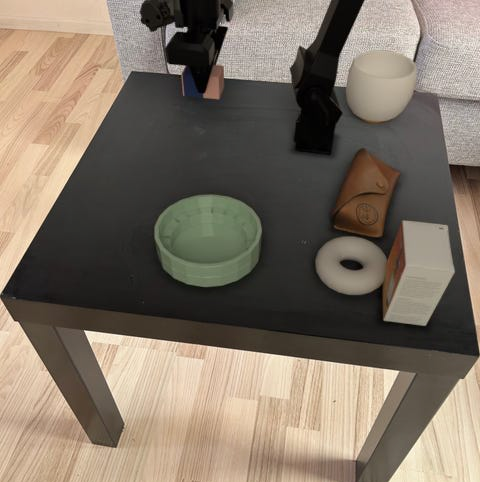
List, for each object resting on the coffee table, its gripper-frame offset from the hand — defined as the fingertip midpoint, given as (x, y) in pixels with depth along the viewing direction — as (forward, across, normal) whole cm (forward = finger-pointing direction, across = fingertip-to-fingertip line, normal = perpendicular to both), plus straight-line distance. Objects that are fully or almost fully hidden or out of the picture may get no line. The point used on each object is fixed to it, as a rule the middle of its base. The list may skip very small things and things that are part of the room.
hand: (204, 86), depth 77 cm
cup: (+11, -16, +29) cm, 35 cm away
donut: (+11, +27, +26) cm, 39 cm away
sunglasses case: (+11, +10, +28) cm, 32 cm away
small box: (+11, +31, +34) cm, 47 cm away
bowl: (+11, +26, +6) cm, 29 cm away
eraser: (+1, 0, 0) cm, 1 cm away
